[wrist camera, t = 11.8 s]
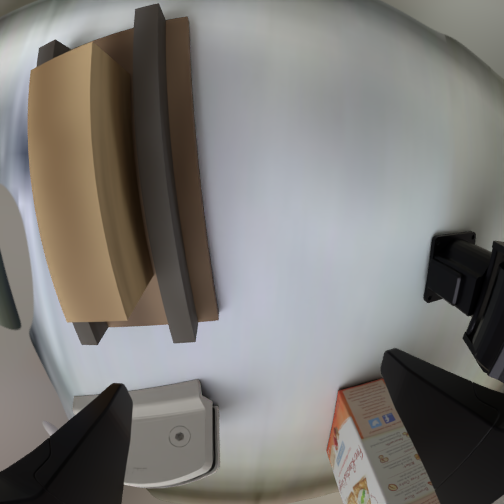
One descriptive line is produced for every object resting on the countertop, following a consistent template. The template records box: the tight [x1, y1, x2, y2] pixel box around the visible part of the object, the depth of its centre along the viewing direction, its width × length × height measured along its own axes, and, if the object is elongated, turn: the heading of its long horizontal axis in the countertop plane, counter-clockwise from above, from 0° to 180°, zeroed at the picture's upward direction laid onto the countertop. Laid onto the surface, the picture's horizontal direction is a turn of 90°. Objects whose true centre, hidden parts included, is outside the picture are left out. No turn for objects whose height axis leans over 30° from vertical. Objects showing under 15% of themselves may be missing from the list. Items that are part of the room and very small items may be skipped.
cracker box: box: [327, 378, 440, 504], centre depth 17 cm, size 14×6×21 cm, turn 5°
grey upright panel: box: [73, 379, 220, 488], centre depth 20 cm, size 17×5×10 cm, turn 107°
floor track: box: [37, 3, 219, 345], centre depth 15 cm, size 12×22×4 cm, turn 5°
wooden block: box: [28, 42, 154, 322], centre depth 13 cm, size 4×14×6 cm, turn 5°
